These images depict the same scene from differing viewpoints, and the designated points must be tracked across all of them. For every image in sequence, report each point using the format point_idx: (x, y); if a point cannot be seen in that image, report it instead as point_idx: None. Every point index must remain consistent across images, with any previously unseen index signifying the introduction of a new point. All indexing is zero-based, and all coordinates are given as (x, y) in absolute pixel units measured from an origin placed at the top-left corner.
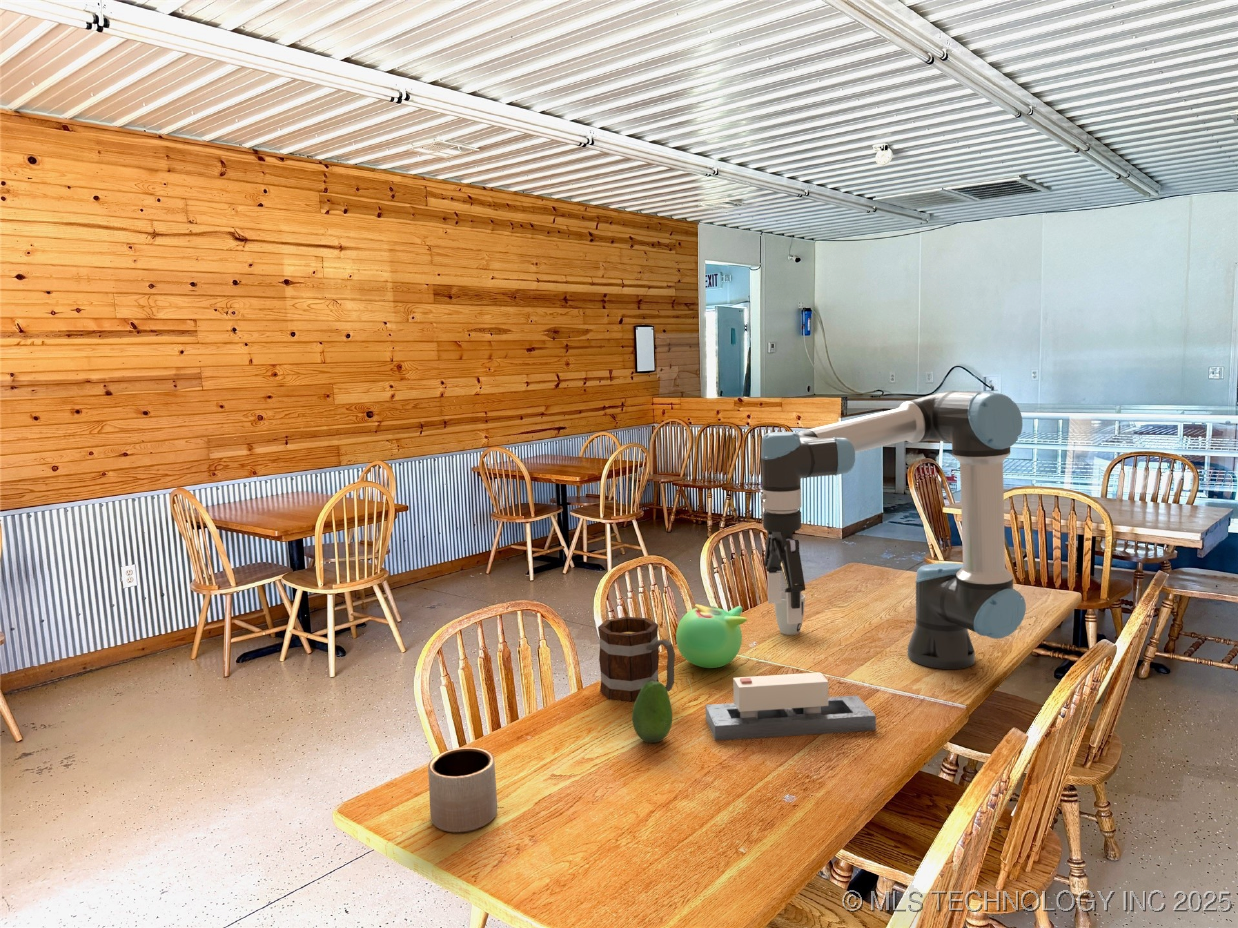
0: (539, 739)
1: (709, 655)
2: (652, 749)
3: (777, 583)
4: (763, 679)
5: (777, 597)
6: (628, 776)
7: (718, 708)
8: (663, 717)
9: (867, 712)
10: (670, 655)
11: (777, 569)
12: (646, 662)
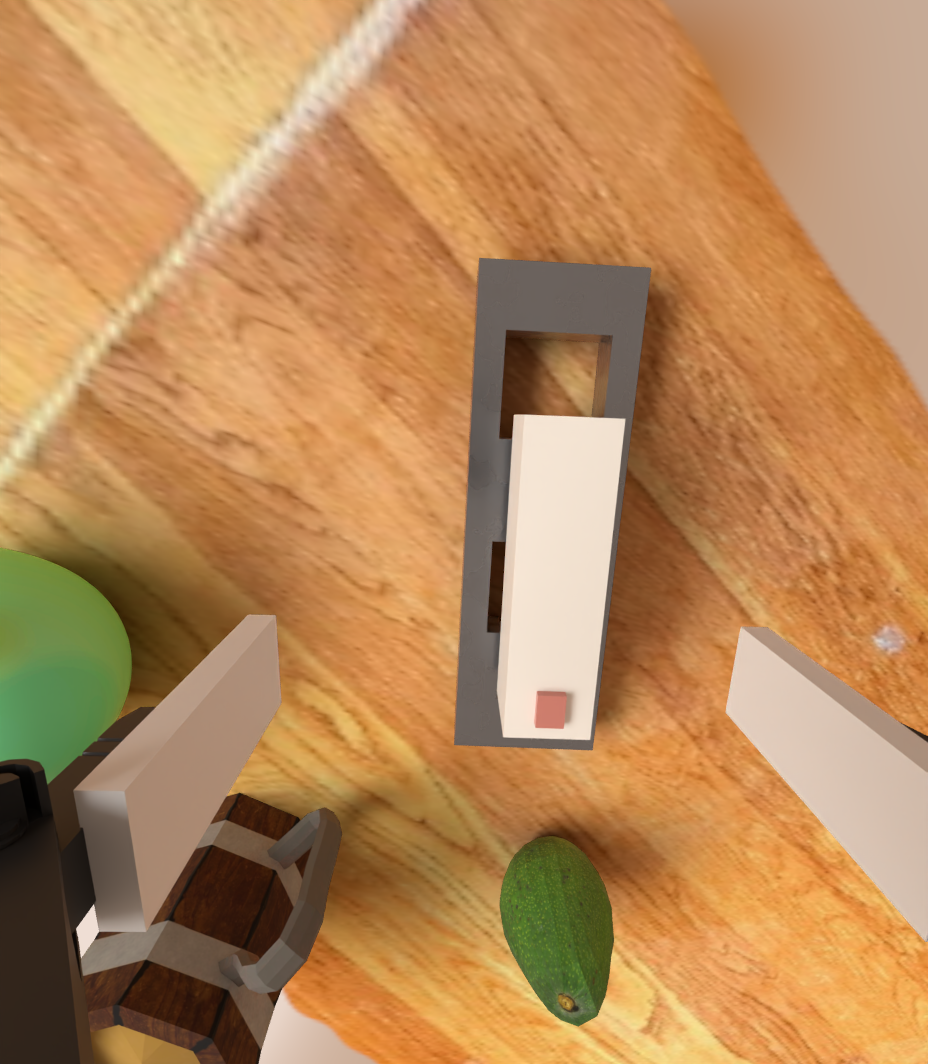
0: (487, 1047)
1: (125, 688)
2: (589, 858)
3: (203, 739)
4: (541, 645)
5: (261, 665)
6: (693, 914)
7: (486, 718)
8: (608, 903)
9: (620, 285)
10: (322, 919)
11: (62, 854)
12: (266, 930)
